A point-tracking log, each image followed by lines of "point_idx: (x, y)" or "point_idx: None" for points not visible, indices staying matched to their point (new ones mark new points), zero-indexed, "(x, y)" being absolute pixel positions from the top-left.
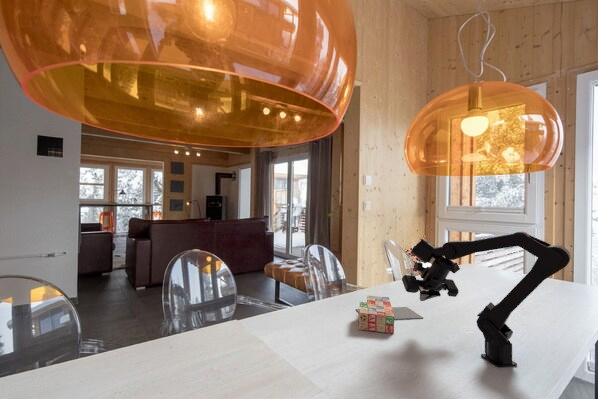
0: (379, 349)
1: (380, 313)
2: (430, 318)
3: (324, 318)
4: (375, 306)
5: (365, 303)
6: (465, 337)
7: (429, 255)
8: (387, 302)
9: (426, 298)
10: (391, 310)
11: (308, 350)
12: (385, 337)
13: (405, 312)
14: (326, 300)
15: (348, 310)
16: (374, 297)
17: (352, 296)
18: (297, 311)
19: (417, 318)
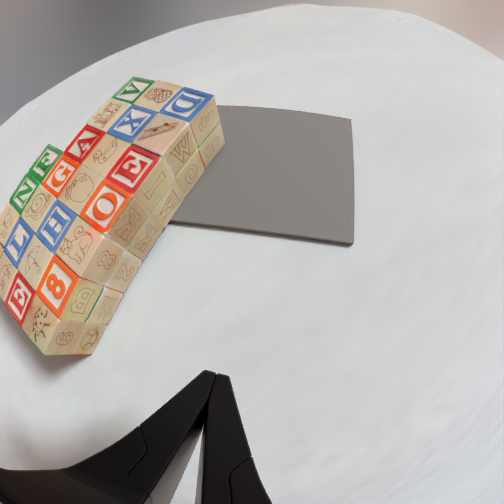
0: (16, 412)
1: (21, 292)
2: (387, 252)
3: (18, 171)
4: (49, 207)
5: (52, 160)
6: (374, 471)
7: None
8: (146, 155)
9: (197, 481)
10: (72, 280)
11: None
12: (54, 364)
13: (304, 166)
14: (117, 55)
15: None
16: (143, 93)
17: (212, 30)
18: (15, 127)
19: (320, 239)
